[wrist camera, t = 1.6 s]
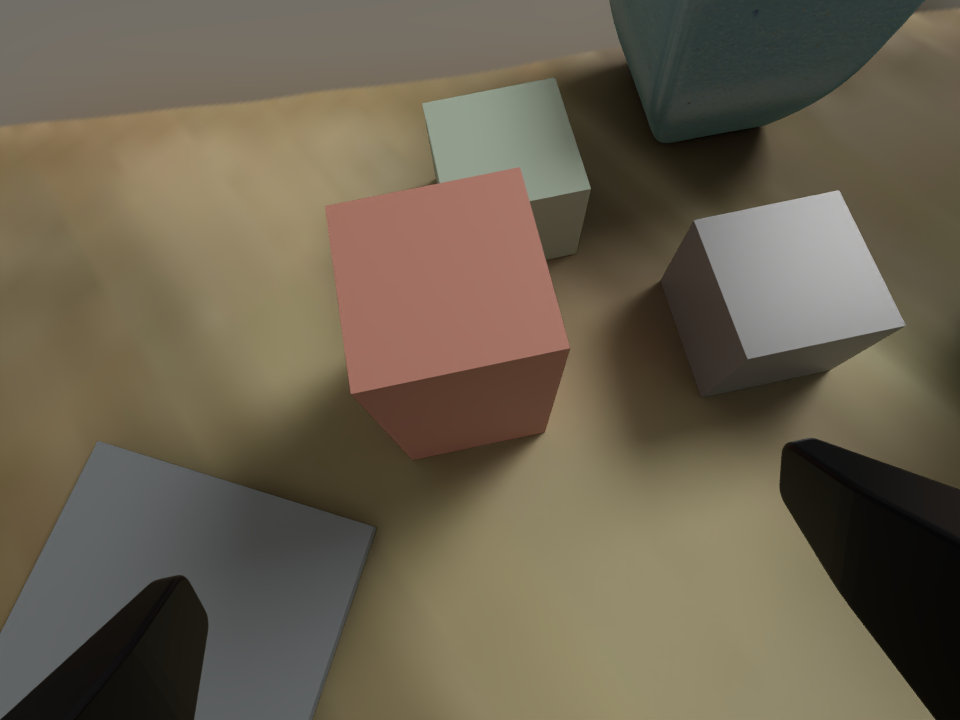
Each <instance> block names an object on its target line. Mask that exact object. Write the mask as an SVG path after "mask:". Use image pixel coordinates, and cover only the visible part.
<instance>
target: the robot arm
mask: <svg viewBox="0 0 960 720" xmlns="http://www.w3.org/2000/svg"><path fill="white" fill-rule="evenodd" d="M779 485H780V493H781V497H782V499H783V501H784V503H785V505H786V507H787V508H788V510H789V512H790V513H791V515H792V516H793V518H794V520H795V521H796V523H797V525H798V526H799V528H800V530H801V531H802V533H803V534H804V536H805V538H806V539H807V541H808V543H809V544H810V546H811V548H812V549H813V551H814V552H815V554H816V556H817V557H818V559H819V561H820V562H821V564H822V566H823V567H824V569H825V571H826V572H827V574H828V575H829V577H830V579H831V580H832V582H833V583H834V585H835V586H836V588H837V589H838V591H839V592H840V594H841V595H842V596H843V598H844V599H845V601H846V602H847V603H848V605H849V606H850V608H851V609H852V610H853V611H854V613H855V614H856V615H857V617H858V618H859V619H860V621H861V622H862V623H863V625H864V626H865V627H866V629H867V630H868V631H869V633H870V634H871V635H872V637H873V638H874V639H875V641H876V642H877V643H878V644H879V646H880V647H881V648H882V650H883V651H884V652H885V654H886V655H887V656H888V658H889V659H890V660H891V662H892V663H893V664H894V666H895V667H896V668H897V670H898V671H899V672H900V673H901V675H902V676H903V677H904V679H905V680H906V681H907V683H908V684H909V685H910V687H911V688H912V689H913V691H914V692H915V693H916V695H917V696H918V697H919V699H920V700H921V701H922V702H923V704H924V705H925V706H926V708H927V709H928V710H929V712H930V713H931V714H932V716H933V717H934V718H935V720H960V490H959V489H957V488H954V487H951V486H948V485H945V484H942V483H940V482H937V481H934V480H931V479H928V478H925V477H923V476H920V475H917V474H914V473H911V472H909V471H906V470H903V469H900V468H897V467H894V466H892V465H889V464H886V463H883V462H880V461H878V460H875V459H872V458H869V457H866V456H863V455H861V454H858V453H855V452H852V451H849V450H847V449H844V448H841V447H838V446H835V445H832V444H830V443H827V442H824V441H821V440H818V439H815V438H807V439H802V440H797V441H793V442H789V443H787V444H785V445H784V447H783V449H782V456H781V470H780V484H779ZM208 628H209V622H208V616H207V613H206V610H205V609H204V607H203V605H202V603H201V601H200V599H199V598H198V596H197V594H196V592H195V590H194V589H193V587H192V585H191V583H190V581H189V580H188V579H187V578H186V577H185V576H183V575H175V576H170V577H166V578H161V579H157V580H154V581H153V582H151V583H150V584H149V585H147V586H146V587H145V588H144V589H143V590H142V591H141V592H140V593H139V594H138V595H136V596H135V597H134V598H133V599H132V600H131V601H130V602H129V603H128V604H127V605H125V606H124V607H123V608H122V609H121V610H120V611H119V612H118V613H117V614H116V615H114V616H113V617H112V618H111V619H110V620H109V621H108V622H107V623H106V624H105V625H103V626H102V627H101V628H100V629H99V630H98V631H97V632H96V633H95V634H94V635H92V636H91V637H90V638H89V639H88V640H87V641H86V642H85V643H84V644H83V645H81V646H80V647H79V648H78V649H77V650H76V651H75V652H74V653H73V654H72V655H70V656H69V657H68V658H67V659H66V660H65V661H64V662H63V663H62V664H61V665H60V666H58V667H57V668H56V669H55V670H54V671H53V672H52V673H51V674H50V675H49V676H47V677H46V678H45V679H44V680H43V681H42V682H41V683H40V684H39V685H38V686H36V687H35V688H34V689H33V690H32V691H31V692H30V693H29V694H28V695H27V696H25V697H24V698H23V699H22V700H21V701H20V702H19V703H18V704H17V705H16V706H14V707H13V708H12V709H11V710H10V711H9V712H8V713H7V714H6V715H5V716H3V717H2V718H1V719H0V720H194V718H195V712H196V706H197V699H198V693H199V686H200V680H201V674H202V667H203V661H204V655H205V648H206V642H207V636H208Z"/></svg>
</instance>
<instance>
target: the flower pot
mask: <svg viewBox="0 0 960 720" xmlns="http://www.w3.org/2000/svg"><path fill="white" fill-rule="evenodd" d="M924 1H925V0H610V6H611V11H612V15H613V19H614V24H615V27H616V31H617V34H618V38H619V41H620V44H621V47H622V50H623V52H624V55H625V57H626V60H627V63H628V66H629V69H630V71H631V74H632V77H633V80H634V82H635V85H636V88H637V91H638V94H639V97H640V99H641V102H642V105H643V108H644V111H645V114H646V116H647V120H648V123H649V126H650V128H651V131H652V133H653V135H654V137H655V138H656V140H657V141H659V142H661V143H672V142H678V141H683V140H688V139H693V138H698V137H703V136H709V135H714V134H720V133H725V132H731V131H737V130H743V129H748V128H754V127H760V126H764V125H767V124H769V123H772V122H774V121H777V120H779V119H782V118H784V117H786V116H788V115H791V114H793V113H795V112H797V111H799V110H801V109H803V108H805V107H807V106H809V105H811V104H813V103H814V102H816V101H818V100H819V99H821V98H823V97H824V96H826V95H827V94H829V93H830V92H832V91H833V90H835V89H836V88H837V87H839V86H840V85H842V84H843V83H844V82H845V81H847V80H848V79H849V78H850V77H851V76H853V75H854V74H855V73H856V72H857V71H858V70H860V69H861V68H862V67H863V66H864V65H865V64H866V63H867V62H868V61H869V60H870V59H871V58H872V57H873V56H874V55H875V54H876V53H877V52H878V51H879V50H880V49H881V47H882V46H883V45H884V44H885V43H886V42H887V41H888V40H889V39H890V38H891V37H892V36H893V35H894V34H895V32H896V31H897V30H898V29H899V28H900V27H901V26H902V25H903V24H904V23H905V22H906V21H907V20H908V18H909V17H910V16H911V15H912V14H913V13H914V12H915V11H916V10H917V8H918V7H919V6H920V5H921V4H922V3H923V2H924Z"/></svg>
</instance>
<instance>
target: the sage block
mask: <svg viewBox="0 0 960 720" xmlns="http://www.w3.org/2000/svg"><path fill="white" fill-rule="evenodd" d="M422 104H423V110H424V115H425V121H426V126H427V132H428V137H429V143H430V148H431V154H432V159H433V165H434V170H435V176H436V181H437V184H438V183H443V182H448V181H453V180H458V179H463V178H468V177H473V176H478V175H483V174H488V173H493V172H498V171H503V170H508V169H513V168H518V167H520V169H521V172H522V176H523V179H524V183H525V187H526V190H527V194H528V197H529V201H530V205H531V208H532V212H533V216H534V219H535V223H536V226H537V230H538V234H539V237H540V241H541V244H542V248H543V252H544V255H545V259H546V260H548V259H553V258H558V257H562V256H567V255H572V254H576V252H577V248H578V244H579V239H580V235H581V230H582V226H583V222H584V217H585V213H586V209H587V204H588V200H589V196H590V191H591V187H590V184H589V181H588V178H587V175H586V172H585V169H584V165H583V162H582V159H581V156H580V153H579V150H578V147H577V144H576V141H575V138H574V134H573V131H572V128H571V125H570V122H569V119H568V116H567V113H566V110H565V107H564V104H563V100H562V97H561V94H560V91H559V88H558V85H557V82H556V79H555V77H554V78H549V79H544V80H539V81H534V82H529V83H524V84H519V85H514V86H509V87H503V88H498V89H493V90H488V91H483V92H478V93H473V94H468V95H463V96H458V97H452V98H447V99H442V100H437V101H432V102H427V103H422Z"/></svg>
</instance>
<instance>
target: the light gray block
mask: <svg viewBox="0 0 960 720" xmlns="http://www.w3.org/2000/svg"><path fill="white" fill-rule="evenodd" d="M660 281H661V284H662V287H663V290H664V293H665V296H666V299H667V301H668V304H669V307H670V310H671V313H672V316H673V319H674V322H675V324H676V327H677V330H678V333H679V336H680V339H681V342H682V345H683V347H684V350H685V353H686V356H687V359H688V362H689V365H690V368H691V371H692V373H693V376H694V379H695V382H696V385H697V388H698V391H699V394H700V396H701V398H703V397H708V396H712V395H717V394H722V393H726V392H731V391H736V390H740V389H745V388H750V387H755V386H759V385H764V384H769V383H773V382H778V381H783V380H787V379H792V378H797V377H801V376H806V375H811V374H815V373H820V372H825V371H830V370H831V369H833V368H835V367H836V366H838V365H840V364H841V363H843V362H845V361H847V360H848V359H850V358H852V357H853V356H855V355H857V354H858V353H860V352H862V351H864V350H865V349H867V348H869V347H870V346H872V345H874V344H875V343H877V342H879V341H881V340H882V339H884V338H886V337H887V336H889V335H891V334H892V333H894V332H896V331H898V330H899V329H901V328H903V327H904V326H906V325H905V323H904V321H903V319H902V317H901V315H900V313H899V311H898V309H897V307H896V305H895V303H894V301H893V299H892V297H891V295H890V293H889V291H888V289H887V286H886V284H885V282H884V280H883V278H882V276H881V274H880V272H879V270H878V268H877V266H876V264H875V262H874V260H873V258H872V256H871V254H870V252H869V250H868V248H867V246H866V244H865V242H864V240H863V238H862V236H861V234H860V232H859V230H858V228H857V226H856V224H855V222H854V220H853V218H852V216H851V214H850V212H849V210H848V208H847V205H846V203H845V201H844V199H843V197H842V195H841V193H840V191H839V190H838V191H833V192H829V193H824V194H819V195H814V196H809V197H804V198H799V199H794V200H789V201H784V202H780V203H775V204H770V205H765V206H760V207H755V208H750V209H745V210H740V211H736V212H731V213H726V214H721V215H716V216H711V217H706V218H701V219H696V220H694V221H693V223H692V224H691V226H690V228H689V230H688V232H687V233H686V235H685V237H684V239H683V241H682V242H681V244H680V246H679V248H678V250H677V251H676V253H675V255H674V257H673V259H672V261H671V262H670V264H669V266H668V268H667V270H666V271H665V273H664V275H663V277H662V279H661V280H660Z"/></svg>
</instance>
